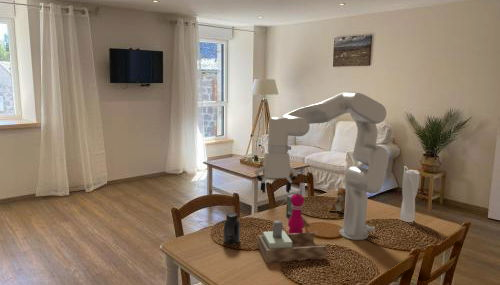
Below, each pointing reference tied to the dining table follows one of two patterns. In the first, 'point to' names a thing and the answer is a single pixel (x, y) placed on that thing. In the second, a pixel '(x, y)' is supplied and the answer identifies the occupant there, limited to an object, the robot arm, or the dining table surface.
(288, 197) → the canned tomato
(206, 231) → the dining table surface
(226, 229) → the supplement bottle
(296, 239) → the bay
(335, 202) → the stuffed squirrel
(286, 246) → the base with upright peg
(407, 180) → the skyscraper
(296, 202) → the pepper mill
